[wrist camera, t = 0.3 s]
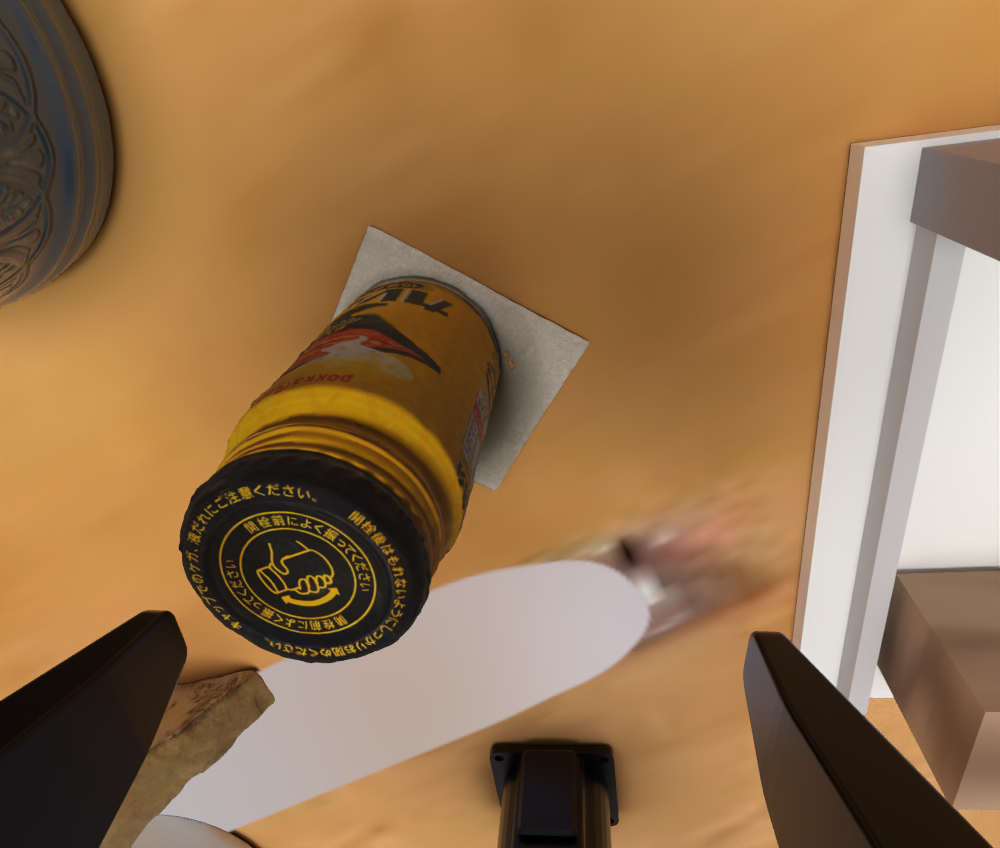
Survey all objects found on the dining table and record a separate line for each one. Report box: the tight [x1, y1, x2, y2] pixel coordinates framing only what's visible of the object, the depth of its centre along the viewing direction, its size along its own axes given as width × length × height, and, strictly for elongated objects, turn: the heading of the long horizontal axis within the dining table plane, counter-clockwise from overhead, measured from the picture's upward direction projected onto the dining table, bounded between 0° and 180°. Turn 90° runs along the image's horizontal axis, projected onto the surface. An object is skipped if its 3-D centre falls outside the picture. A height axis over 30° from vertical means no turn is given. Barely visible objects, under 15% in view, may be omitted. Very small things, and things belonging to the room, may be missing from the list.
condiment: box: [179, 226, 590, 663], centre depth 18 cm, size 7×8×12 cm
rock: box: [99, 670, 275, 848], centre depth 32 cm, size 11×9×10 cm
